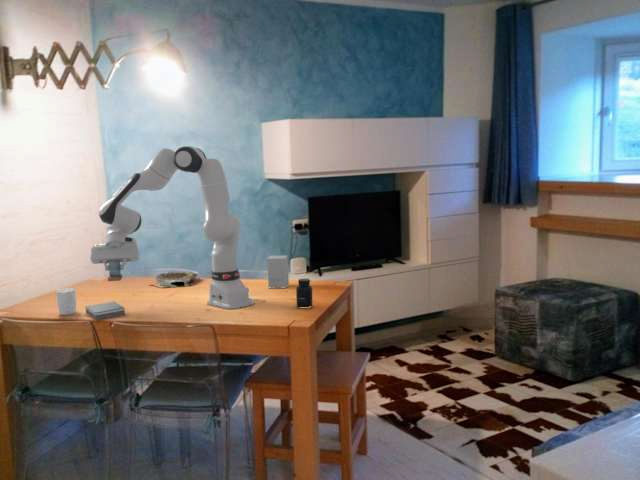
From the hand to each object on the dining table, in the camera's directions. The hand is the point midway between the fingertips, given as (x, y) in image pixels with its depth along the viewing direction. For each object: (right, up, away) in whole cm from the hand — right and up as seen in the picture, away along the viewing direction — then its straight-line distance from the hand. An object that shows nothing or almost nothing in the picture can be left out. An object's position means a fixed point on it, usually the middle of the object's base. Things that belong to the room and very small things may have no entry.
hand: (114, 269), depth 256 cm
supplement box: (+68, -10, +37) cm, 79 cm away
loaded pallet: (0, -4, +1) cm, 4 cm away
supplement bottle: (+82, -16, -3) cm, 84 cm away
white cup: (-20, -19, -1) cm, 27 cm away
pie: (+14, -10, +54) cm, 57 cm away
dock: (-2, -19, -4) cm, 19 cm away
